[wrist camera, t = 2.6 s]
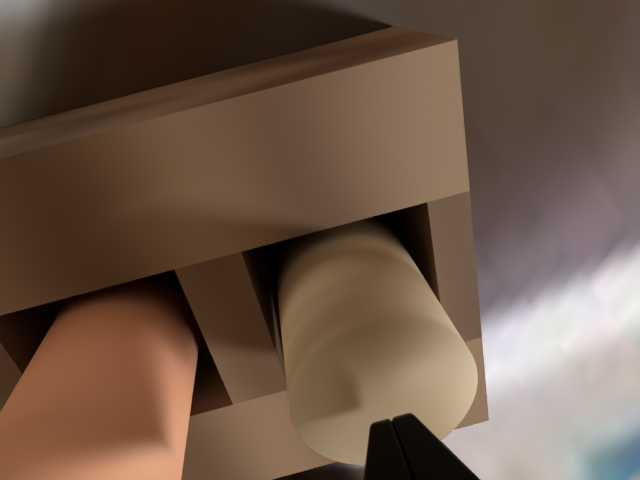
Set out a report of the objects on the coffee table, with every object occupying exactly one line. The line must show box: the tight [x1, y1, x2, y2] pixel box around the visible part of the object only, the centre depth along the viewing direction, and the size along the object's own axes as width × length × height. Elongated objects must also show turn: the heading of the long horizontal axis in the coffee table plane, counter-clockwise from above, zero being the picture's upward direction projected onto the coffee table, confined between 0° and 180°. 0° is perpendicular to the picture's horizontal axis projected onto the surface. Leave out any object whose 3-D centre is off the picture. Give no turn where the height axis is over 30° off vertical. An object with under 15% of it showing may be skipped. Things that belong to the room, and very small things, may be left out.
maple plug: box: [276, 218, 478, 465], centre depth 12 cm, size 4×4×5 cm
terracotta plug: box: [0, 277, 201, 480], centre depth 12 cm, size 4×4×5 cm
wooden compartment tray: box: [0, 26, 489, 480], centre depth 15 cm, size 20×12×5 cm, turn 103°
